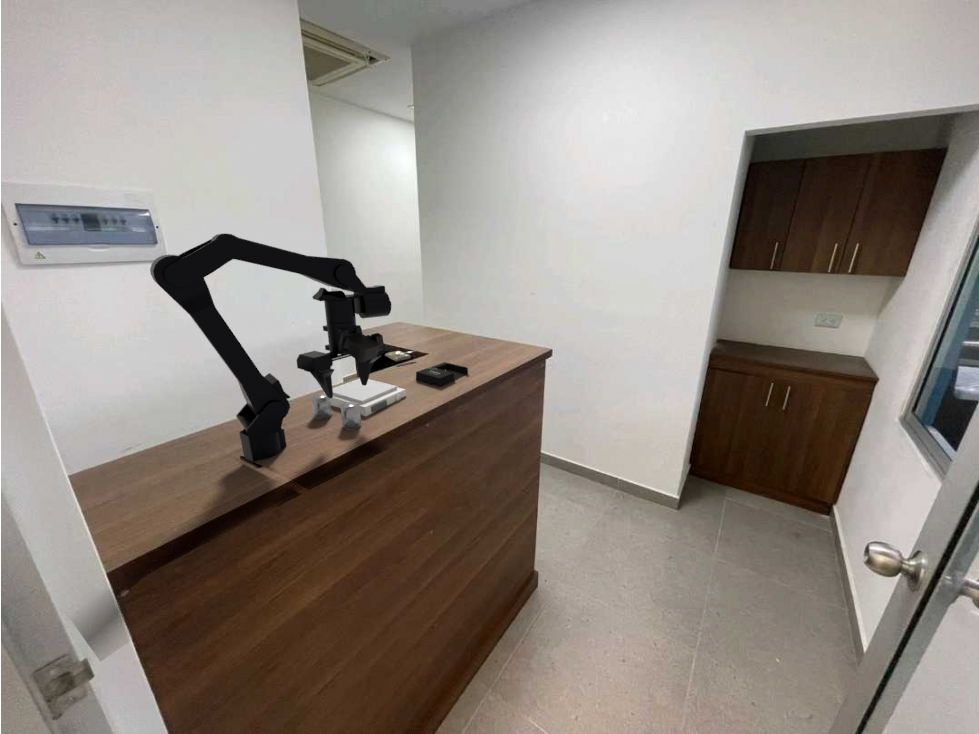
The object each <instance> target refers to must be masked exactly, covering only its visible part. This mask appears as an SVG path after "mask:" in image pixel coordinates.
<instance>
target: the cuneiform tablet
mask: <svg viewBox="0 0 979 734" xmlns="http://www.w3.org/2000/svg"><path fill="white" fill-rule="evenodd" d="M416 352H417V351H416V350H410V351H409V350H408V351H405V352H404V351H403V352H402V351H400V350H396V351H390V352H385V354H384V356H385V357H387V358H389V359H390V360H392V361H394V362H400V361H404V360H409V359H411V357H412V356H411V355H410V354H411V353H416Z"/></svg>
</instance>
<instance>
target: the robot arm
mask: <svg viewBox="0 0 979 734" xmlns="http://www.w3.org/2000/svg"><path fill="white" fill-rule="evenodd" d="M233 260H236V261H241V262H245V263H249V264H255V265H258V266H263V267H266V268H272V269H275V270H281V271H285V272H289V273H294V274H298V275H301V276H303V277H306V278H308V279H310V280H312V281H314V282H317V283H319V284H322V285H324V286H326V287H331V288H336V289H340V290H329V291H328V289H326V288H325V287H319V290H318V291H317V292H315V294H314V295H313V296H312V300H315V301H319V302H324V310H325V319H326V321H325V322H326V325H322V331H323V332H327V339H328V344H325V345H324V348H325V349H324V350H325V351H329V352H322V351H318V350H313V351H309V352H304V353H300V354H298V356H297V358H296V367H297V369H300V370H303V371H304V372H308V373H310V374H311V376H313V378H314V379H315V381H316V382H317V383H318V385H319V386H320V388H321V390H323V393H324V392H325V394H326V395H327V397H328V398H333V389H332V388H333V380H332V375H333V373H334V372H335V369H334V368H332V367H333V365H334V363H333V362H334V361H335V362H336V361H339V360H343V359H346V358H350V357H352V358H353V359H355V362H356V366H357V367H356V368H357V371H358V376H359V379H360V380H361V383H362V385H364V386H365V385H367V381H368V379H370V378H369V377H370V374H371V371H372V368H373V365H374V362H376V361H377V360H378V359H379V358H381V357H382V354H384V353H385V354H386V344H385V343H384V337H383V334H380V333H379V332H376V333H372V334H371V335H370V334H366V335H365V334H364V333H363V330H362V327H361V325H359V324H357V319H356V315H358V316H359V317H360V318H361V319H362V320H363V319H369V318H371V319H373V318H379V317H380V318H382V317H387V316H389V315H390V314H391V312H392V301H391V300H390V296H389V294H388V293H387V292H386V287H385V285H381V284H378V285H377V284H376V285H372V286H366V285H365V284H364V282H363V281H362V280H361V279H360V277H359V276H358V275H357V271H356V267H354V264H353V263H352V262H351V261H350V260H347V259H344V258H337V257H326V256H325V257H324V256H313V255H307V254H306V255H305V254H302V253H298V252H295V251H290V250H286V249H283V248H279V247H274V246H271V245H267V244H265V243H260V242H258V241H256V242H255V241H252V240H248V239H244V238H241V237H238V236H236V235H234V234H232V233H225V232H224V233H218V234H215V235H214V236H212V238H211V239H209V240H206V241H204V242H202V243H200V244H198V245H196V246H194V247H192V248H190V249H187V250H186V251H184V252H182V253H180V254H164V255H161V256H159V257H157V258H155V259H154V260H153V262H152V263H151V265H150V270H149V272H150V275H151V278H152V280H153V281H154V283H156V284H157V285H158V286H159V287H160V288H161V289H162V290H163V291H164V292H165V293H166V294H167V295H168V296H169V297H170V298H171V299H173V301H175V302H176V304H177V305H179V306H180V307H181V308H182V309H183V310H184V311H185V313H187V314H188V315H189V316H190V317H191V319H192V320H193V321H194V323H195V324H196V326H197V327H198V328H199V330H200V331H201V333H202V334H203V335H204V337H205V338H206V339H207V341H208V342H209V343H210V345H211V346H212V347H213V349H214V350H215V352H216V353H217V354H218V356H219V357H220V358H221V360H222V361H223V362H224V364H225V365H226V367H227V368H228V369H229V371H230V372H231V373H232V375H233V376H234V378H236V380H237V382H238V385H239V387H240V391H241V393H242V396H243V398H244V400H245V401H246V403H245V404H244V406H243V407H242V408H241V409H240V410H239V412H238V413H237V414H236V415H235V417H236V418H237V420H238V421H239V423H240V424H241V426H242V427H243V430H241V431H239V433H238V434H239V438H240V442H241V447H242V452H243V455H240V456H239V459H240V460H241V461H243V462H246V463H248V464H250V465H252V466H254V467H255V468H262V467H263V465H261V464H259V463H257V462H258V461H265V460H268V459H271V458H274V457H275V456H277V455H280V453H281V452H282V450H284V449H285V448H287V440H286V439H287V438H286V433H285V429H284V428H282V427H283V426H282V425H283V421H284V418H286V417H287V416H288V414H289V411H290V408H291V405H290V404H291V403H290V402H289V400H288V399H291V395H289V394H288V393H286V391H285V390H284V388H283V387H282V384H281V382H280V380H279V379H278V378H276V377H275V376H274V375H273V374H272V373H270V372H269V373H267V374H266V375H265V376H263V374H262V373H261V371H259V369H258V367H257V366H256V364H255V363H254V361H253V360H252V359H251V357H250V356H249V354H248V353H247V351H246V350H245V348H244V347H243V346H242V344H241V342H240V341H239V340H238V338H237V337H236V335H235V334H234V333H233V331H232V329H231V328H230V326H229V325H228V324H227V322H226V321H225V318H223V316H222V315H221V313H220V312H219V310H218V309H217V307H216V305H215V302H214V300H213V297H212V294H211V291H210V288H209V285H208V284H207V282H206V280H205V277H208V276H210V275H211V274H213V273H214V272H216V271H217V270H218V269H220V268H221V267H223V266H224V265H226V264H228V263H230V262H231V261H233ZM344 291H347V292H351V293H352V294H345V292H344Z"/></svg>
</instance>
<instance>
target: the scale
mask: <svg viewBox="0 0 979 734" xmlns="http://www.w3.org/2000/svg"><path fill="white" fill-rule="evenodd" d="M332 389H333V398H330V400H331V407H332V406H333V407H335V408H339V409H341V407H340V406H341V405H342V404H344V403H347V402H358V403H359V404H360V415H361V416H363V417H368V416H370V415H372V414H373V413H375V412H377V411H380V410H381V409H384V408H385V407H388V406H389V405H391V404H392V403H395V402H398V401H400V400H401V399H402V398H404V397H406V395H407V392H406V389H405V388H401V387H398V386H397V385H393V384H390V383H385V382H382V381H378V380H373V379H370V378H368V381H367V385H365V386H364V385H362V383H361V380H360V378H358V379H355V380H352V381H349V382H346V383H344V384H340V385H339V386H336V387H335V386H334V387H332ZM323 393H325V392H324V391H323Z"/></svg>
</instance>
